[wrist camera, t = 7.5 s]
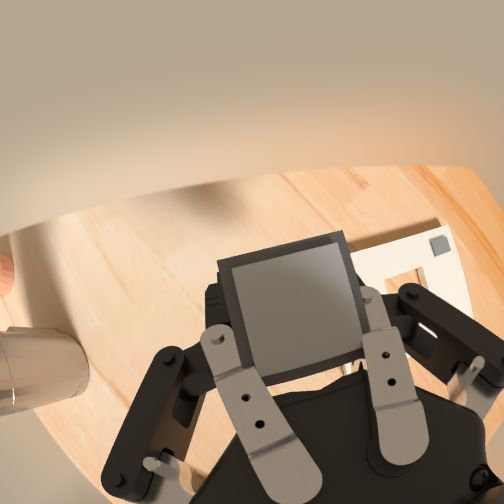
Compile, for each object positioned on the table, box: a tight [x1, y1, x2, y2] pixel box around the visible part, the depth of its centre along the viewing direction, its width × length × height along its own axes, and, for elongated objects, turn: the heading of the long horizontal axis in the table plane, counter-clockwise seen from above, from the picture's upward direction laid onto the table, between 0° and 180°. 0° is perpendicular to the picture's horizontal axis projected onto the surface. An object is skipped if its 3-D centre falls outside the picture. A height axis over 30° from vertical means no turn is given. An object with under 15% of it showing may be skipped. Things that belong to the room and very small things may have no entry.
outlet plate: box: [342, 225, 474, 376], centre depth 28 cm, size 20×14×2 cm
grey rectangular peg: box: [217, 230, 371, 387], centre depth 12 cm, size 4×4×10 cm
